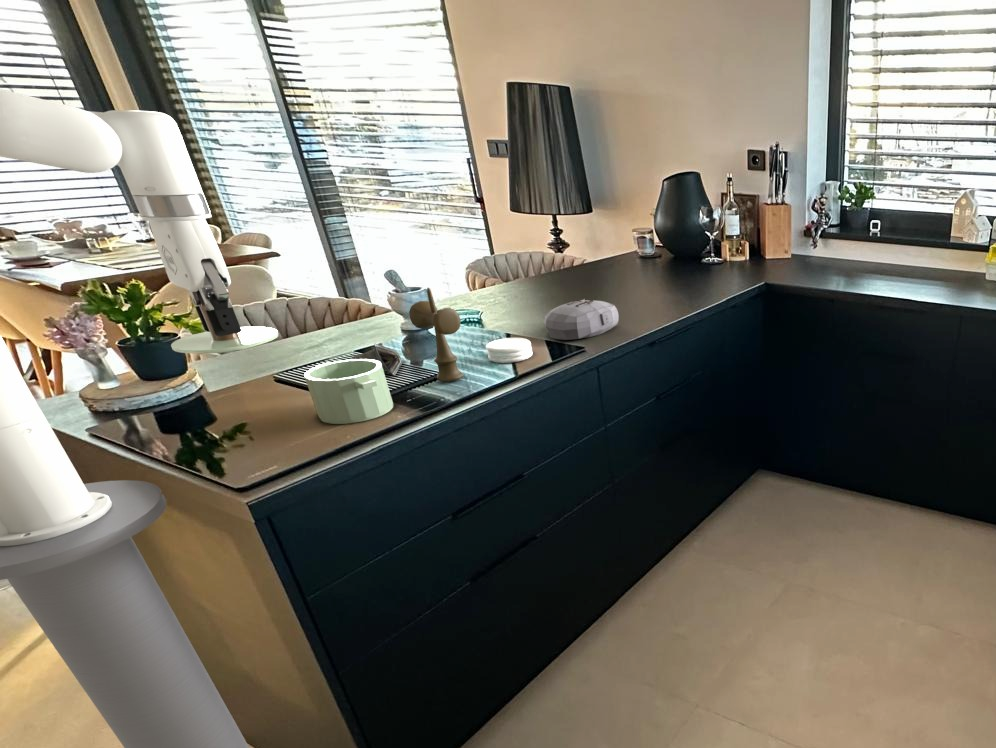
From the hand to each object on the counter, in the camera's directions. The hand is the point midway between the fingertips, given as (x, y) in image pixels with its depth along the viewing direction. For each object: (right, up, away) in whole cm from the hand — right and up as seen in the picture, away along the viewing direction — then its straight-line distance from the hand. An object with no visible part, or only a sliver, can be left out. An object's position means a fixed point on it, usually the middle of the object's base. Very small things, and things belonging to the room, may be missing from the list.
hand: (223, 330), depth 98 cm
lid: (0, -1, +1) cm, 2 cm away
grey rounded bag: (+31, +13, +72) cm, 80 cm away
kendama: (+14, -4, +38) cm, 41 cm away
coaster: (+21, +4, +53) cm, 57 cm away
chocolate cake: (-4, -1, +42) cm, 42 cm away
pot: (+5, -11, +22) cm, 25 cm away
